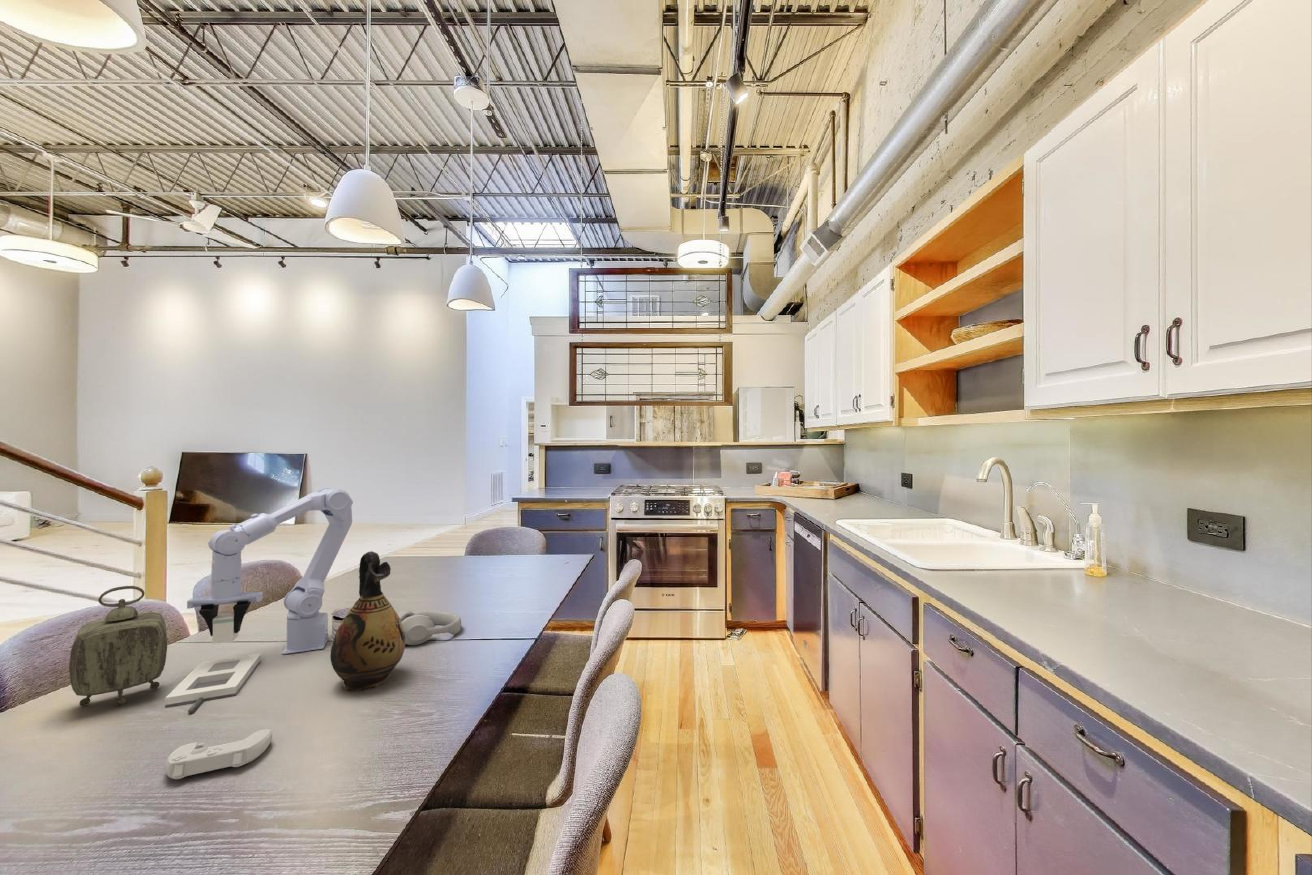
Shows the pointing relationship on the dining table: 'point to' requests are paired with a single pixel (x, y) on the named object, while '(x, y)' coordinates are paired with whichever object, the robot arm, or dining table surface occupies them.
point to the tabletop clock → (118, 651)
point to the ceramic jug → (368, 632)
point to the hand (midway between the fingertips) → (225, 633)
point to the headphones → (427, 625)
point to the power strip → (213, 681)
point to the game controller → (216, 755)
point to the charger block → (224, 628)
